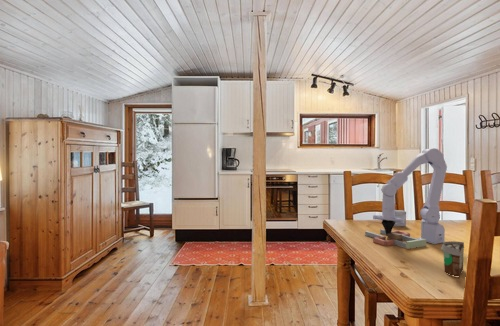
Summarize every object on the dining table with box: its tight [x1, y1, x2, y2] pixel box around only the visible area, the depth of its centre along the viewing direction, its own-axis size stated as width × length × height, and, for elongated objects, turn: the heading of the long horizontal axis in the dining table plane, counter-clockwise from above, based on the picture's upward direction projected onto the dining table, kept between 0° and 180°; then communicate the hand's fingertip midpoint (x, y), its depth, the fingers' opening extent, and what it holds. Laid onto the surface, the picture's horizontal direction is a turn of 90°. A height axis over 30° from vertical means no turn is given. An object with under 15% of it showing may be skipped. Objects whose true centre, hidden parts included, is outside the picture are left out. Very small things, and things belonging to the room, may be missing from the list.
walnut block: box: [386, 233, 403, 242], centre depth 157 cm, size 4×5×3 cm
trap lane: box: [364, 228, 427, 250], centre depth 157 cm, size 26×22×3 cm
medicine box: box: [393, 209, 407, 227], centre depth 188 cm, size 8×4×9 cm, turn 84°
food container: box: [440, 240, 465, 278], centre depth 115 cm, size 12×6×10 cm, turn 141°
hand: (388, 235), depth 160 cm, fingers closed
